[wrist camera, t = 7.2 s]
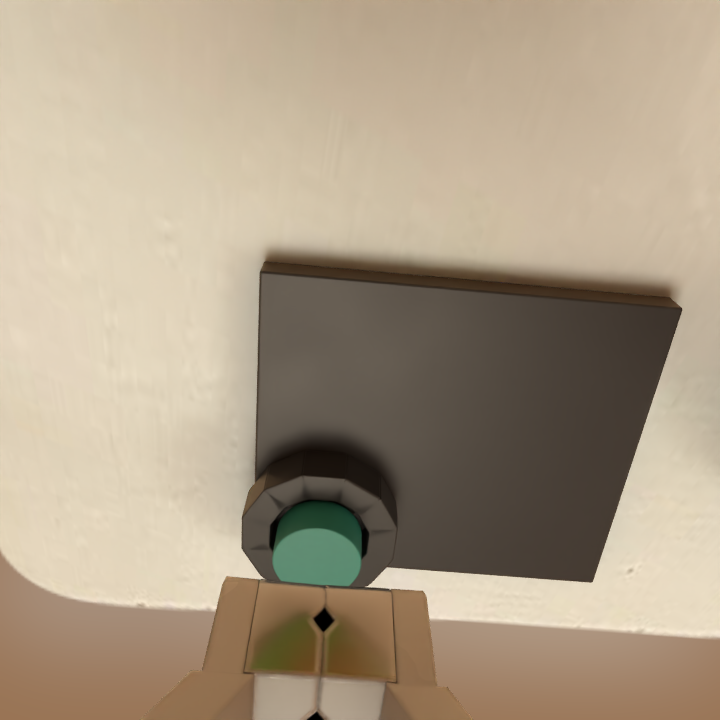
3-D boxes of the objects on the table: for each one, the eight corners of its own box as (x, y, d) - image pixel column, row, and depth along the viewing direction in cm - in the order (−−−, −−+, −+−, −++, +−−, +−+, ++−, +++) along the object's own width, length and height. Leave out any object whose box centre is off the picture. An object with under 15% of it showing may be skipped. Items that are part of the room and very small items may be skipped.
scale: (251, 543, 32) (240, 590, 29) (257, 260, 26) (244, 287, 23) (584, 568, 33) (603, 617, 30) (671, 296, 26) (705, 327, 24)
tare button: (275, 562, 29) (270, 592, 28) (278, 496, 28) (273, 524, 26) (357, 568, 29) (357, 599, 28) (365, 503, 28) (365, 531, 26)
